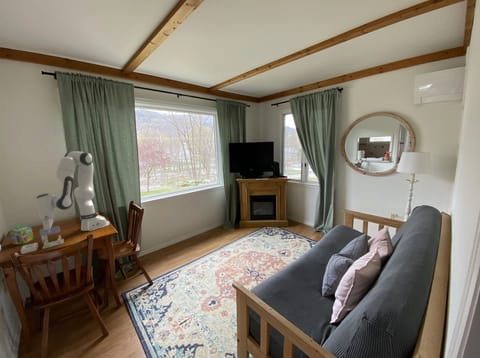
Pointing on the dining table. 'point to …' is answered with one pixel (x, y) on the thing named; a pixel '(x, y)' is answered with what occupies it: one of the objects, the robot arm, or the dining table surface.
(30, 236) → the chalk box
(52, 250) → the dining table surface
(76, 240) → the dining table surface
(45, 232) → the bar
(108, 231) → the dining table surface
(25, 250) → the slot block
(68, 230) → the dining table surface
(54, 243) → the peg rack
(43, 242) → the steel pin
